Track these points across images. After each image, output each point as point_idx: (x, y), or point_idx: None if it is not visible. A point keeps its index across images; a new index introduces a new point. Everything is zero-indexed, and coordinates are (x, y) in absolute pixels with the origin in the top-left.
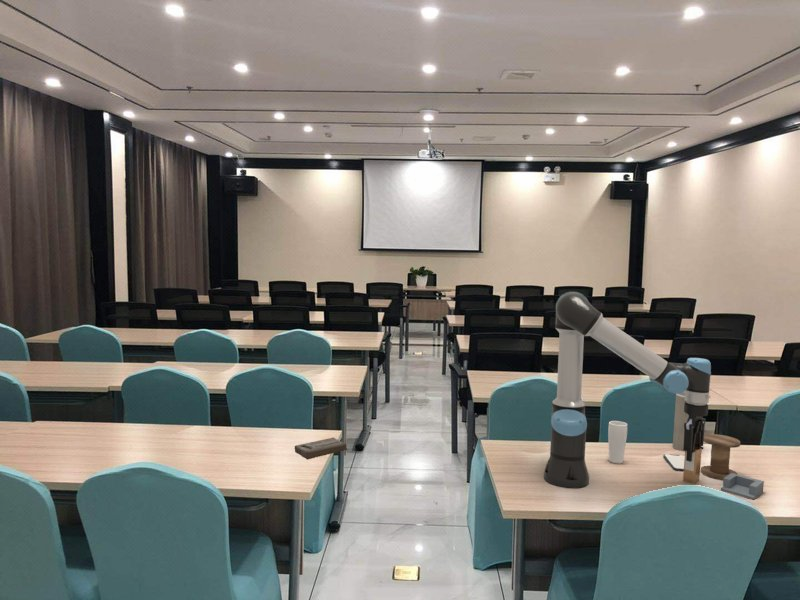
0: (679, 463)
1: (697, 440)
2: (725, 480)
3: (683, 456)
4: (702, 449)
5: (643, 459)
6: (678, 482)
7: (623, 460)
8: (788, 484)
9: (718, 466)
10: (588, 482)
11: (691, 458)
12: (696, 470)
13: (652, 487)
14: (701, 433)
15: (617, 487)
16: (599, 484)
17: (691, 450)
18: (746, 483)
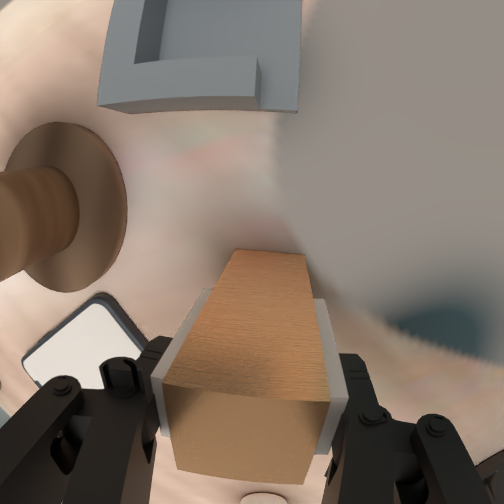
0: (99, 375)
1: (135, 487)
2: (257, 85)
3: (30, 368)
4: (133, 359)
5: (160, 461)
6: (338, 324)
7: (257, 497)
8: (14, 7)
9: (52, 208)
10: (499, 455)
11: (346, 369)
12: (295, 284)
13: (464, 367)
14: (7, 500)
15: (499, 417)
16: (490, 445)
17: (444, 424)
18: (155, 20)
